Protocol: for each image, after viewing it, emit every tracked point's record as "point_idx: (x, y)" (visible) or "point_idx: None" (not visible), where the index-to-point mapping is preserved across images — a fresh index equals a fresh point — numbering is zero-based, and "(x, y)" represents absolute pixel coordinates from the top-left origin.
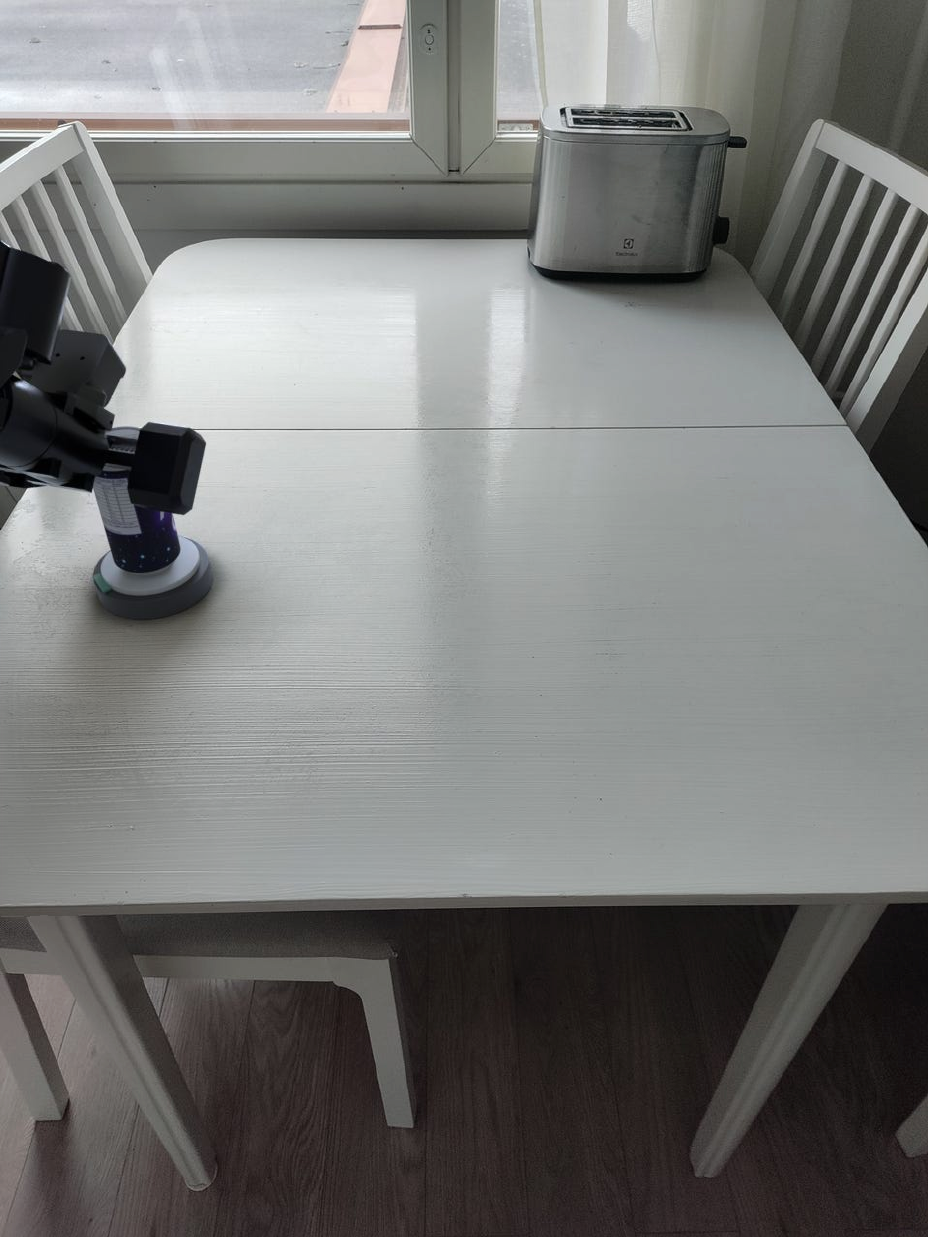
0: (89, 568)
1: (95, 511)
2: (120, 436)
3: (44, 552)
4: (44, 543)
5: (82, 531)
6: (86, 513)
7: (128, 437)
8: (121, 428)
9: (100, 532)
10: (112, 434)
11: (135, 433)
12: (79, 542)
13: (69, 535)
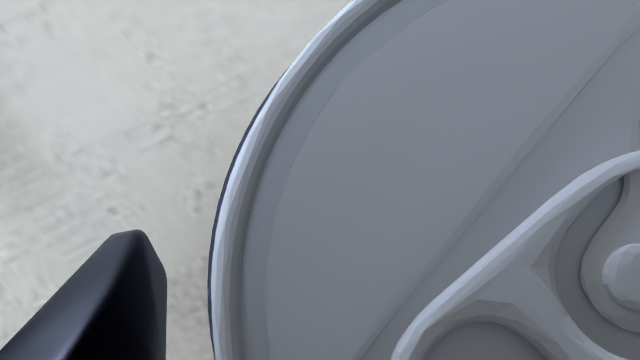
0: (197, 272)
1: (32, 51)
2: (513, 162)
3: (34, 268)
4: (6, 235)
5: (63, 143)
6: (16, 70)
7: (607, 126)
8: (381, 4)
9: (111, 124)
10: (378, 162)
11: (628, 16)
12: (90, 188)
13: (43, 174)
